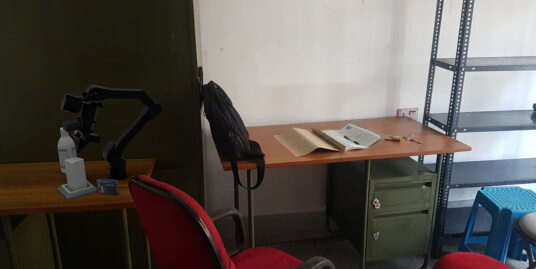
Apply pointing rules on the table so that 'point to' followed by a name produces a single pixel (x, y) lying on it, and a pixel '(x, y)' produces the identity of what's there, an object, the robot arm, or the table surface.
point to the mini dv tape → (107, 186)
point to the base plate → (74, 194)
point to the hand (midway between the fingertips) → (77, 152)
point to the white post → (75, 173)
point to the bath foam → (65, 149)
